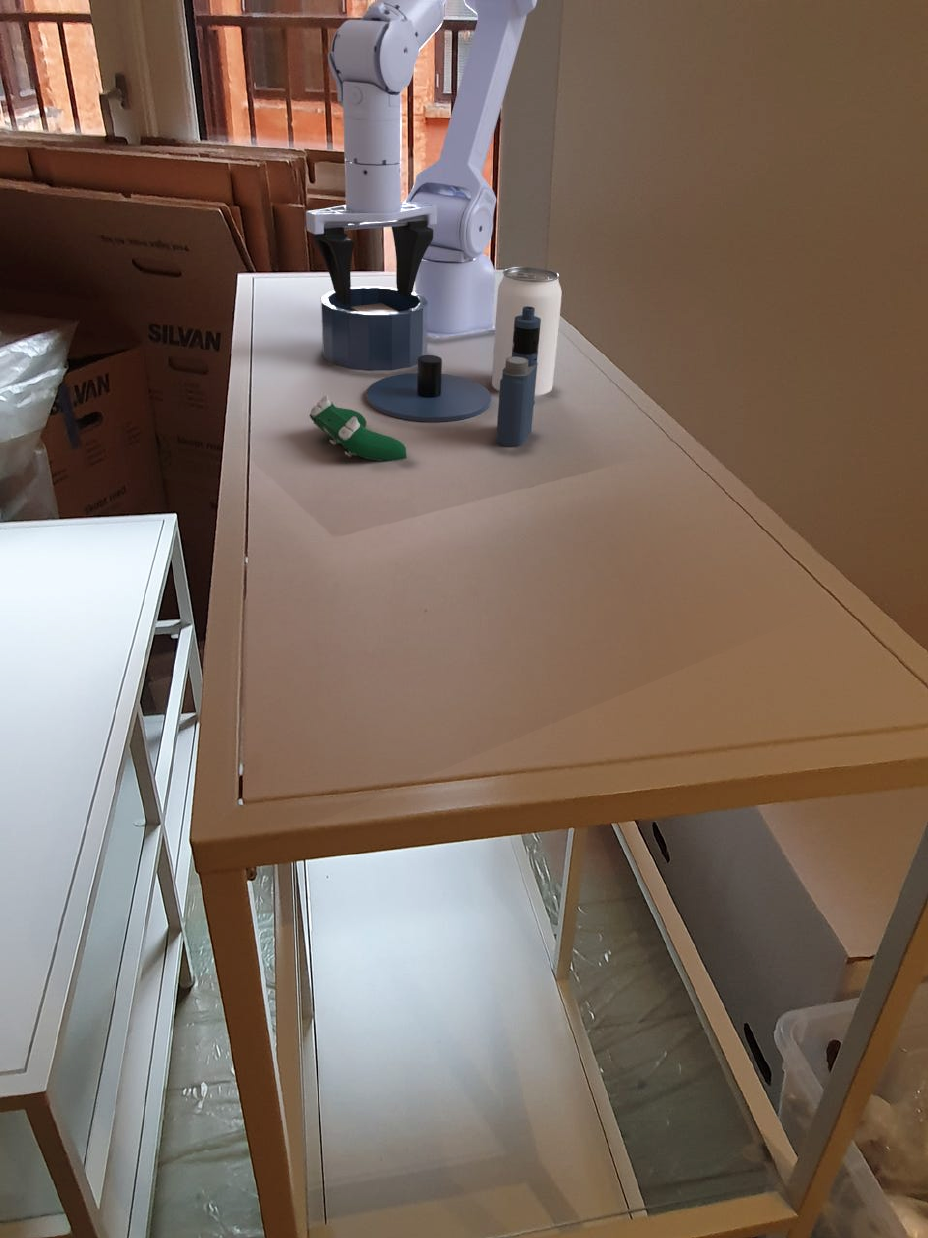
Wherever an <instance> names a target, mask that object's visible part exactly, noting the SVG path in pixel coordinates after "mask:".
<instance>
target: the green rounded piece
mask: <svg viewBox="0 0 928 1238" xmlns="http://www.w3.org/2000/svg"><path fill="white" fill-rule="evenodd" d="M309 417H310V419H311V421H313V424H314V425H315V426H316V427H317V428H319V429H320V430H322V431H323V432H324V433H325V434H328V435H329V437H330V438H331V439H329V443H331V444H332V445H335V446H337V444H339V445H342V447H343V448H344V449H346V450H347V451H346V450H345V451H344V455H346V456H347V457H352V456H355V457H360V458H364V459H367V460H370V461H375V462H376V461H377V462H391V461H398V460H404V459H407V447H406V446H405V444H404V443H403V442H401V441H400V440H398V439H396V438H393V437H392V436H389V435H385V434H382V433H378V432H375V431H372V430H370V429H368V428H366V426H367V420H366V418H365V417H364V415H363V414H361V413H360V412H358V411H357V410H354V409H351V408H343V407H337V406H335V404H334V403H333V401H330V400H329V397H328V396H327V395H324V396H323V397H321V399H320V400H318V401H317V402H316V405H313V407H312V408H311V409H310V412H309ZM332 439H333V440H332Z"/></svg>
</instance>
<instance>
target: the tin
mask: <svg viewBox="0 0 928 1238" xmlns="http://www.w3.org/2000/svg"><path fill="white" fill-rule="evenodd" d="M378 303H382V304H384V305H386V306H388V307H390V308H392V309H394V310H396V311H398V312H393V313H364V312H354V311H350V307H354V306H362V305H370V304H378ZM320 318H321V319H320V321H321V341H322V344H321V345H322V346H321V347H322V354H323V355H322V356H323V359H326V360H327V361H328V362H329V363H331V364H333V365H336V366H339V367H342V368H346V369H351V370H359V371H366V372H367V371H368V372H380V371H381V372H383V371H386V372H387V371H389V372H391V371H395V370H402V369H403V370H404V369H409V368H411V367H414V366H416V365H417V366H418V357H420V356H423V355H428V336H427V323H428V302H427V301H426V299H425V297H423V296H421V295H419V294H417V293H415V291H413V292H412V296H411V297H405V296H403V295H401V294H399V293H398V292H397V287H386V286H351V301H350V304H348V305H343V304H342V303H340V302H338V301H336V297H335V292H334V290H331V291H327V292H326V293H325V294H324V295H322V296H321V297H320Z"/></svg>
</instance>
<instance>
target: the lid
mask: <svg viewBox="0 0 928 1238" xmlns="http://www.w3.org/2000/svg"><path fill="white" fill-rule="evenodd" d="M442 371H443V358H442V357H441V356H439V355H435V354H427V355H423V356H420V357H418V364H417V372H413V373H411V372H409V373H403V374H395V375H391V376H386V377H384V378H381V379H379V380H377V381H375V382H373V383H372V384H371V385H369V386H368V388H367V389H366V402H367V403H368V404H369V406H370V407H372V409H374V410H376V411H378V412H380V413H381V414H384V415H387V416H391V417H393V418H396V419H397V418H398V419H402V420H407V421H413V422H414V421H415V422H424V423H425V422H427V423H438V422H439V423H440V422H443V423H445V422H453V421H460V420H461V421H462V420H465V419H469V418H473V417H476V416H478V415H480V414H482V413H484V412H485V411H487V410H488V409H489V407H490V406H491V403H492V394H491V392H490V391H489V389H488V388H486V387H485V385H483V384H481V383H479V382H476V381H474V380H473V379H472V380H471V379H468V378H465V377H461V376H458V375H452V374H446V373H445V374H444V373H442Z"/></svg>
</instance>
